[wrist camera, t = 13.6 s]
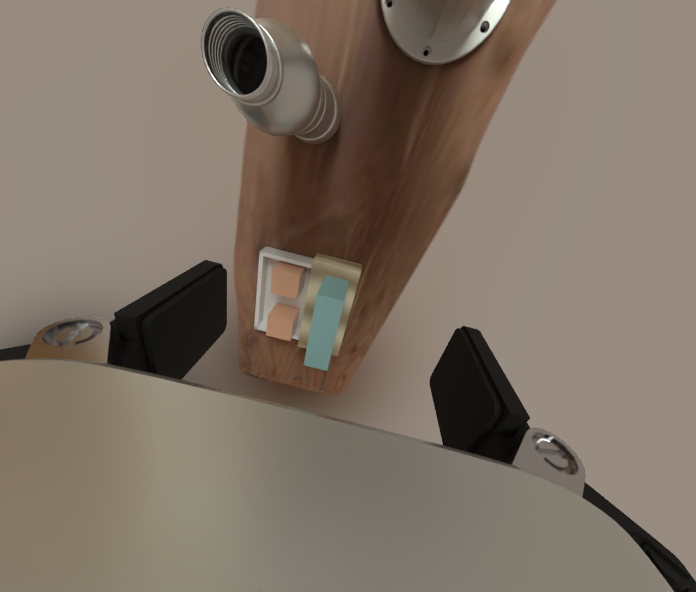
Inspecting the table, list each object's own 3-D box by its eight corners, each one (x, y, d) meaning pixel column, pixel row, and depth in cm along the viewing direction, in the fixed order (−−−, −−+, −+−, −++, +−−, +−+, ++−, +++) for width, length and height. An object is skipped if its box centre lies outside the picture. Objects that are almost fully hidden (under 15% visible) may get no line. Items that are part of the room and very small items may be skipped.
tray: (266, 246, 40) (259, 251, 37) (316, 258, 40) (312, 264, 37) (260, 320, 46) (254, 328, 44) (303, 331, 46) (299, 340, 44)
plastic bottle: (305, 64, 29) (190, -82, 11) (355, 104, 30) (321, 28, 13) (280, 122, 32) (157, 78, 14) (327, 156, 33) (267, 155, 15)
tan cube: (307, 264, 40) (281, 258, 40) (300, 274, 36) (272, 267, 36) (303, 287, 42) (279, 281, 42) (296, 299, 38) (270, 292, 38)
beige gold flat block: (317, 252, 39) (312, 259, 37) (362, 264, 39) (361, 272, 37) (302, 335, 47) (297, 346, 44) (340, 345, 47) (337, 356, 44)
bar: (325, 275, 37) (316, 294, 32) (349, 281, 37) (344, 301, 32) (312, 339, 43) (303, 365, 38) (333, 344, 43) (327, 370, 38)
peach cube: (300, 308, 44) (276, 302, 44) (293, 321, 40) (267, 314, 40) (297, 327, 45) (274, 321, 45) (290, 341, 42) (265, 335, 42)
